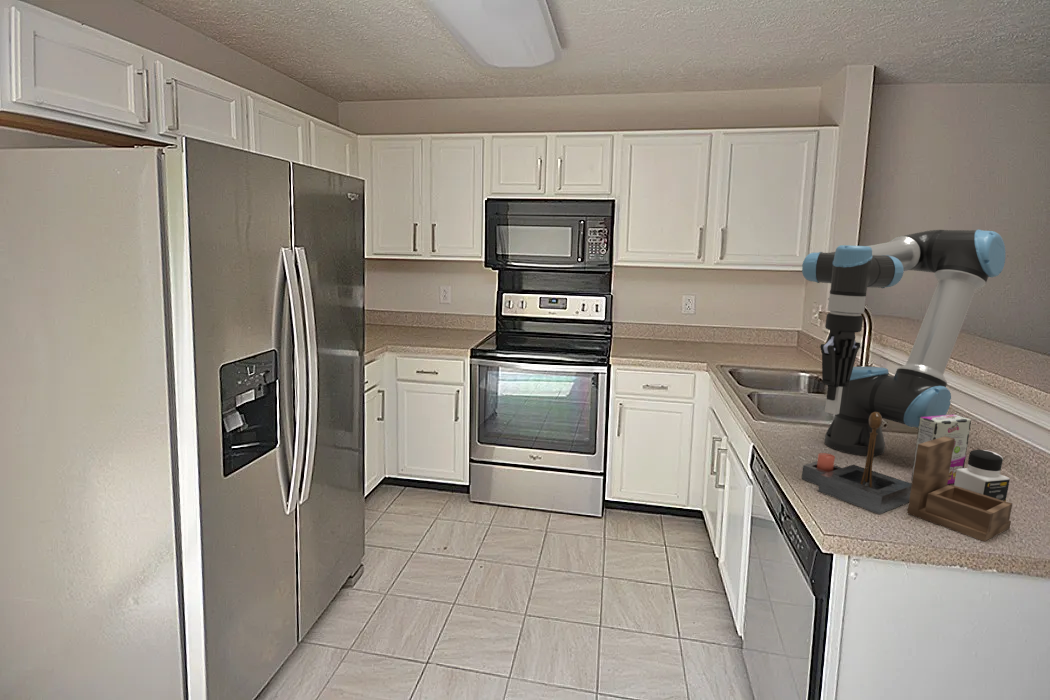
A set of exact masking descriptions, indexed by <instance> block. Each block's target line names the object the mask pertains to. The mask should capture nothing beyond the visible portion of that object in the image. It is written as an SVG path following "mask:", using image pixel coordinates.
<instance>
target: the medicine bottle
mask: <svg viewBox="0 0 1050 700" xmlns="http://www.w3.org/2000/svg"><path fill="white" fill-rule="evenodd" d="M968 454H969V456H968V460H967V461H968V462H967V467H964V468H961V469H957V471H956V477H955V483H954V486H958V487H961V488H964V489H967V490H970V491H974V492H977V493H980V494H983V495H986V496H990V497H993V498H996V499H999V500H1002V501H1006V502H1007V498H1008V497H1007V496H1008V491H1009V485H1010V477H1008V476H1006V475H1003V474H1001V472H1002V471H1001V470H1002V466H1003V463H1004V462H1003V460H1004V458H1003V456H1002V455H1000V454H999V453H998V452H995V451H992V450H987V449H973V450H971V451H969V453H968Z"/></svg>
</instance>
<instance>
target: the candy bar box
mask: <svg viewBox="0 0 1050 700" xmlns="http://www.w3.org/2000/svg"><path fill="white" fill-rule="evenodd" d="M971 424H972V418H969V417H964V416H961V415H959V414H946V415H941V416H928V417H920V421H919V428H918V429H917V438H916V446H915V451H914V452H915V453H914V459H913V467H912V472H911V473H912V474H911V481H912V480H913V474H914V467H915V461H916V455H917V448H918V444H921V443H924V442H927V441H931V440H934V439H937V438H941V437H944V436H946V437H950V438H954V439H955V441H954V447H953V453H952V459H951V465H950V471H949V477H948V483H947V486H948V485H954V483H955V477H956V471H957V469H961V468H965V463H966V458H967V450H968V446H969V445H968V444H969V437H970V431H971Z"/></svg>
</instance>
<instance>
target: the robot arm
mask: <svg viewBox="0 0 1050 700" xmlns="http://www.w3.org/2000/svg"><path fill="white" fill-rule="evenodd" d="M1006 254H1007V253H1006V245H1005V242H1004V240H1003V237H1002V235H1001V234H1000V233H998V232H996V231H994V230H993V231H992V230H982V229H976V230H975V229H971V230H970V229H961V230H960V229H932V230H926V231H924V230H923V231H920V232H919V231H918V232H915V233H911V234H905V235H901V236H896V237H894V238H893V239H891V240H890V241H888V242H883V243H878V244H871V245H846V244H842V245H838V246H837V247H836V248H835V251H831V252H823V251H819V252H811V253H808V254H807V255H806V256H805V257H804V259H803V262H802V267H801V268H802V269H801V272H802V275H803V277H804V279H805V280H807V281H809V282H813V283H814V282H815V283H817V284H820V283H822V284H823V283H824V284H830V290H829V297H828V299H827V300H828V304H827V311H829V312H827V313H826V320H825V325H824V326H825V327H824V328H825V329H826V330H829V334H828V337H827V342H826V343H825V344H824V343H821V344H820V351H821V373H822V374H821V376H822V377H821V379H822V380H821V381H822V384H823V385H825V386H827V389H826V391H827V393H826V398H825V399H826V400H825V407H824V412H825V413H828V414H832V415H834V417H833V419H832V421H831V424H830V425H829V427H828V429H827V430H826V433H825V435H824V444H825V445H826V446H827V447H829V448H831V449H834V450H837V451H839V452H843V453H847V454H852V455H857V456H858V455H859V456H867V453H868V447H869V440H870V432H872V428H871V427H870V425H869V417H870V415H871V413H873V412H879V413H880V414H881V416H882V420H883V419H884V420H887V421H888V420H889V421H892V422H895V423H899V424H902V425H906V426H907V427H911V428H912V427H913V428H918V429H919V421H920V417H928V416H941V415H947V414H948V412H949V410H950V407H951V403H952V402H951V399H952V393H951V391H950V390H949V389H948V388H947V386H948V381H947V380H946V378H945V376H944V373H945V371H946V368H947V365H948V362H949V361H950V359H951V355H952V353H953V350H954V348H955V345H956V343H957V339H958V337H959V336H960V332H961V329H962V327H963V324H964V322H965V318H966V316H967V314H968V311H969V308H970V306H971V303H972V301H973V298H974V296H975V293H976V291H977V290H980V289H982V288H984V287H985V286H986V284H987V282H988V279H989V278H994V277H995V278H996V277H998V276H999V275H1000V274H1001V273H1002V272H1003V270H1004V267H1005V263H1006ZM907 271H915V272H916V271H917V272H922V273H923V272H924V273H933V277H935V279H936V281H937V284H936V287H935V289H934V292H933V294H932V297H931V299H930V301H929V302H930V303H929V305H928V307H927V310H926V312H925V315H924V317H923V320H922V322H921V325H920V327H919V330H918V332H917V336H916V337H915V340H914V344H913V345H912V348H911V350H910V353H909V356H908V359H907V361H906V363H905V364H904V365H901V366H899V367H897V368H896V371H895V374H894V376H893V375H889V369H888V368H885V367H880V366H855V363H856V362H855V361H856V359H857V354H858V351H859V350H860V348H861V342H858V341H856V333H860V332H861V331H862V330H863V329H862V327H863V322H864V317H863V316H862V314H864V313H865V309H866V300H867V291H868V288H872V289H873V288H875V289H876V288H879V289H885V288H891V287H893V286H895V285H898V283H900V282H901V280H902V278H903V276H904V272H907ZM876 433H877V434H878V435H876V440H875V447H874V455H873V457H874V456H881V455H883V454H884V453H885V448H886V442H885V439H884V434H883V429H882V425H881V426H880V427H879V428H878V429H876Z"/></svg>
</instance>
